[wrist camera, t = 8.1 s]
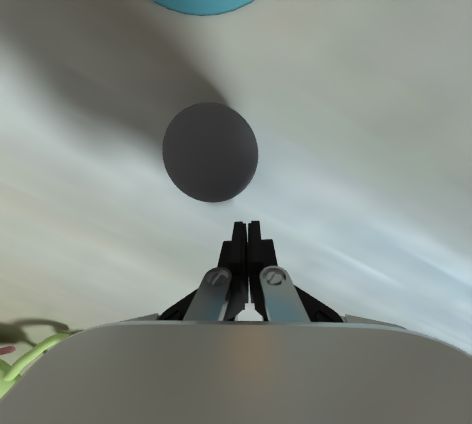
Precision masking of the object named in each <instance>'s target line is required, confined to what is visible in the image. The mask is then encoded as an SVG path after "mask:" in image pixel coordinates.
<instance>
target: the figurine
mask: <svg viewBox="0 0 472 424" xmlns="http://www.w3.org/2000/svg"><path fill="white" fill-rule="evenodd" d="M67 337H69V334H65V333H57V334H55V335H53V336H50V337H48V338H46V339H45V340H44V341H42V342H41V343H39V344H38V345H37V346H35V347H34V348H32V349H31V350H30V351H28V352H27V353H26V354H24V355H23V356H21V357H20V358H19V359H18V360H17V361H16V362H15V363H14V364H13V365H12V366H10V365H9V364H8V363H6V362H5V361H3V360H1V359H0V397H2V396H3V395H4V394H5V393H6V392H7V391H8V390H9V389H10V388H11V387H12V386H13V385H14V384H15V383H16V382H17V381H18V380H19V378H20V377H21V375H20V374H19V372H20V371H21V370H22V369H23V367H24V366H25V365H26V364H28V363H29V362H30V361H32V360H33V359H34V358H36V357H37V356H38V355H39V354H41V353H42V352H43V351H44V350H46V349H47V348H48V347H50V346H52V345H54V344H57V343H59V342H60V341H62V340H63V339H65V338H67ZM15 350H16V349H15V347H13V346H8V347H4V348H0V355H3V354H7V353H12V352H14V351H15Z"/></svg>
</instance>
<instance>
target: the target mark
mask: <svg viewBox="0 0 472 424" xmlns="http://www.w3.org/2000/svg"><path fill="white" fill-rule="evenodd" d="M152 1H153V2H155V3H158V4H160V5H162V6H164V7H166V8H168V9H170V10H174V11H177V12H181V13H184V14H191V15H200V16H205V15H218V14H222V13H226V12H230V11H234V10H236V9H238V8H240V7H243V6H245V5H247V4H249V3H251V2H252V1H254V0H152Z"/></svg>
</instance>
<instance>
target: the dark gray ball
mask: <svg viewBox="0 0 472 424" xmlns="http://www.w3.org/2000/svg"><path fill="white" fill-rule="evenodd" d="M163 160H164V164H165V168H166V170H167V173H168V175H169V177H170V178H171V180H172V181H173V183H174V184H175V185H176V186H177V187H178V188H179V189H180V190H181V191H182V192H183V193H185V194H186V195H188V196H190V197H192V198H194V199H196V200H200V201H204V202H221V201H225V200H228V199H231V198H233V197H235V196H236V195H238V194H239V193H240V192H242V191H243V190H244V189H245V188H246V187H247V185H248V184H249V183H250V181H251V180H252V178H253V176H254V174H255V171H256V168H257V163H258V146H257V142H256V138H255V135H254V133H253V131H252V129H251V127H250V126H249V124H248V123H247V122H246V120H245V119H244V118H243V117H242V116H241V115H240V114H238V113H237V112H236V111H234V110H233V109H231V108H229V107H227V106H224V105H221V104H216V103H200V104H196V105H193V106H190V107H188V108H186V109H185V110H183V111H182V112H180V113H179V114H178V115H177V116H176V117H175V118H174V119H173V121H172V122H171V123H170V125H169V127H168V128H167V131H166V134H165V136H164V140H163Z"/></svg>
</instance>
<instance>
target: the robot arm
mask: <svg viewBox="0 0 472 424" xmlns="http://www.w3.org/2000/svg"><path fill="white" fill-rule="evenodd" d="M249 284H250V295H251V303H254V304H255V310H256V311H257V312H258V313H259V314H260V315H262V321H237V319H238V315H237V314H238V313H240V312H241V311H242V310H245V303H248V290H249ZM0 424H472V355H470V354H469V353H467V352H465V351H463V350H462V349H460V348H458V347H456V346H453V345H451V344H449V343H447V342H444V341H442V340H439V339H437V338H434V337H431V336H428V335H425V334H422V333H419V332H415V331H411V330H407V329H406V328H404V327H401V326H398V325H395V324H390V323H385V322H380V321H376V320H371V319H366V318H361V317H356V316H351V315H347V314H345V317H344V316H339V314H338V313H336V312H335V311H334V310H332V309H331V308H329V307H328V306H326V305H325V304H323V303H321V302H320V301H318V300H317V299H315V298H314V297H312V296H311V295H309V294H307V293H306V292H304V291H303V290H301V289H300V288H298V287H296V286H295V285H293V282H292V280H291V278H290V276H289V274H288V273H287V271H286V270H284V269H283V268H281V267H278V265H277V260H276V255H275V250H274V244H273V240H272V239H266V240H261V233H260V222H259V221H251V223H248V242H247V230H246V223H245V224H243V222H234V228H233V234H232V241H224V242H223V245H222V249H221V253H220V258H219V262H218V266H217V267H216V268H213V269H211V270H209V271H208V272H207V273H206V274H205V276H204V278H203V280H202V282H201V284H200V286H199V288H198V289H196V290H195V291H193V292H192V293H190V294H189V295H188V296H186V297H185V298H183V299H182V300H180V301H179V302H177V303H176V304H174V305H173V306H171V307H170V308H168V309H167V310H166V311H165V312H163V313H162V315H159V314H158V313H156V314H152V315H147V316H142V317H138V318H133V319H129V320H124V321H120V322H115V323H108V324H103V325H99V326H95V327H92V328H89V329H86V330H83V331H80V332H78V333H75V334H73V335H71V336H69V337H67V338H65V339H63V340H62V341H60V342H59V343H57V344H56V345H55V346H53V347H52V348H51V349H49V350H48V351H47V352H46V353H45V354H44V355H43V356H42V357H41V358H40V359H38V360H37V361H36V362H35V363H34V364H33V365H32V366H31V367H30V368H29V369H28V370H27V371H26V372H25V373H24V374H23V375H22V376H21V377H20V378H19V380H18V381H17V382H16V383H15V384H14V385H13V386H12V387H11V388H10V389H9V390H8V391H7V392H6V393H5V394H4V395H3V396H2V398H1V399H0Z"/></svg>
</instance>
